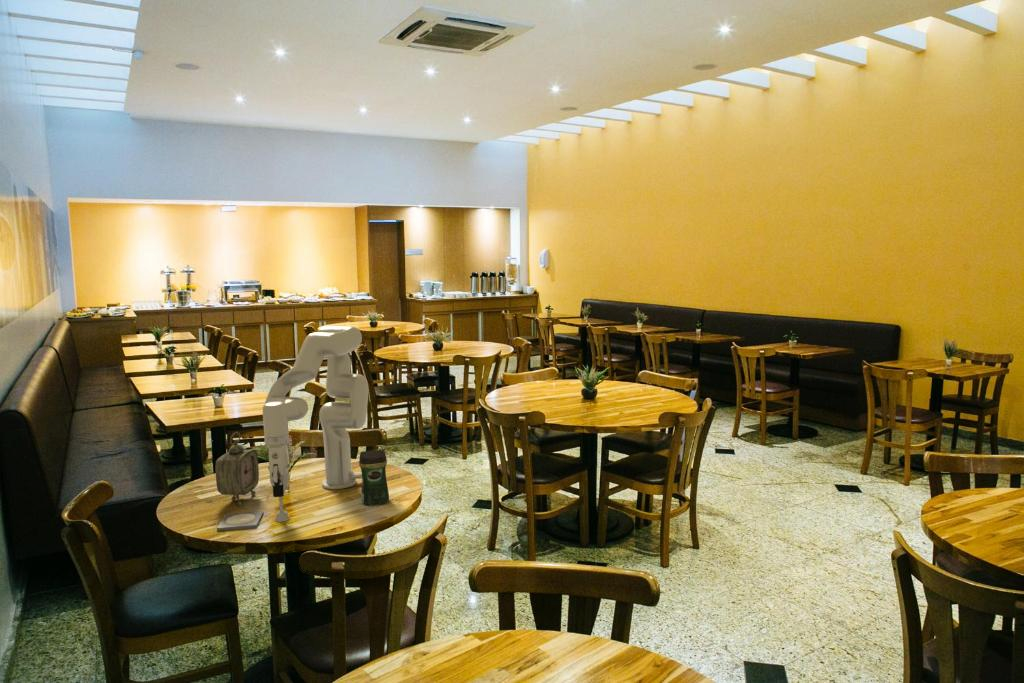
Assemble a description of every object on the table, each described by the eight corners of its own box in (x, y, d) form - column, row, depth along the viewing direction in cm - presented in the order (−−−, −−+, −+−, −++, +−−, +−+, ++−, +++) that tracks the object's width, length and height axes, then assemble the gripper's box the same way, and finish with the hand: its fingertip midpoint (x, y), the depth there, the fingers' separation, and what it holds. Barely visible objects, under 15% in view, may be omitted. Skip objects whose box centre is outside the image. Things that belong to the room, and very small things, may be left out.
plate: (263, 513, 230) (263, 510, 230) (256, 527, 219) (256, 524, 218) (226, 516, 228) (225, 513, 228) (216, 531, 217) (216, 527, 216)
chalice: (274, 515, 229) (270, 463, 227) (295, 514, 230) (291, 462, 227) (268, 523, 222) (264, 470, 219) (290, 522, 222) (286, 469, 220)
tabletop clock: (241, 508, 236) (236, 438, 232) (216, 508, 236) (210, 438, 233) (260, 493, 250) (255, 427, 247) (236, 493, 251) (231, 427, 247)
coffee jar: (387, 496, 244) (385, 446, 242) (390, 504, 237) (387, 452, 234) (360, 499, 242) (357, 449, 239) (361, 507, 234) (359, 455, 232)
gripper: (284, 446, 214) (288, 501, 217) (292, 432, 231) (295, 483, 233) (259, 448, 213) (263, 503, 215) (269, 433, 230) (273, 484, 232)
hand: (280, 492), depth 224 cm, fingers closed on chalice, 6 cm apart
